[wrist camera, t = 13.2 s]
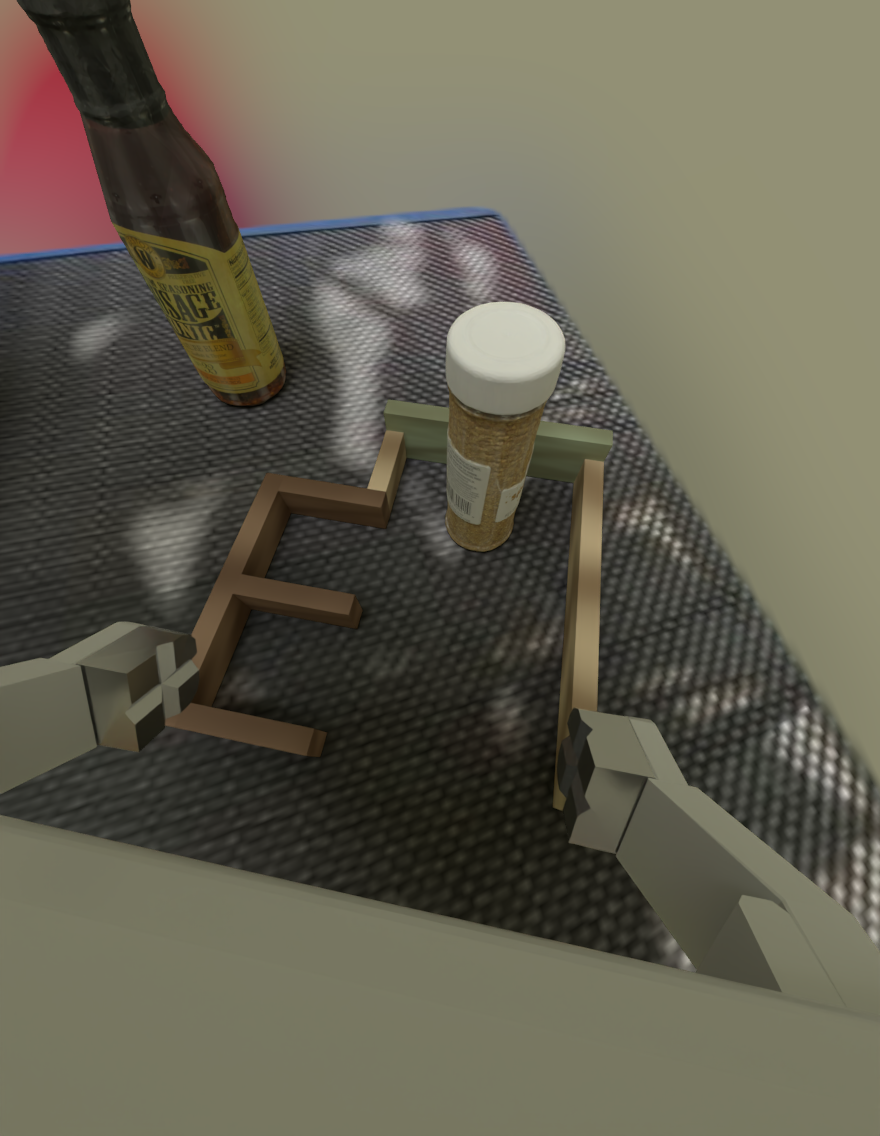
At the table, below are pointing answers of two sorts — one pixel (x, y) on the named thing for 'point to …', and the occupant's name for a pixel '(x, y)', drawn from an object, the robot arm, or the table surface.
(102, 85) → the sauce bottle
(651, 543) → the table surface
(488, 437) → the sprinkles bottle
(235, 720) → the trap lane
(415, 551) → the table surface
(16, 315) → the table surface
